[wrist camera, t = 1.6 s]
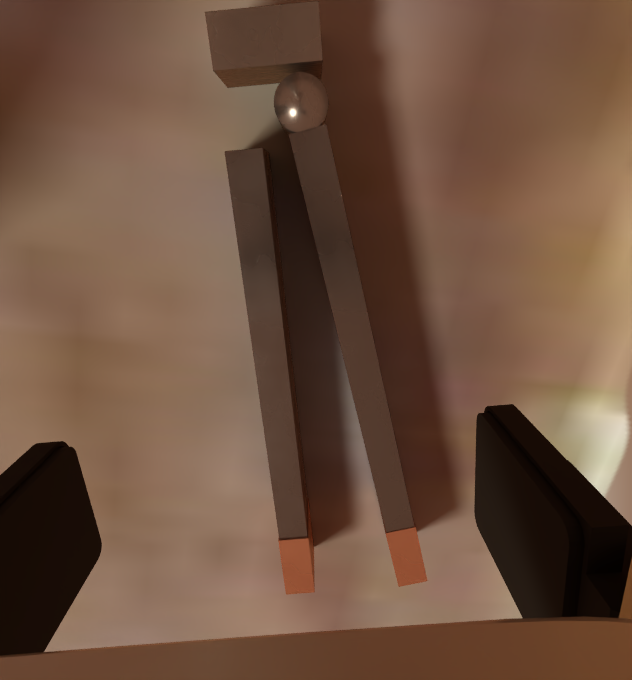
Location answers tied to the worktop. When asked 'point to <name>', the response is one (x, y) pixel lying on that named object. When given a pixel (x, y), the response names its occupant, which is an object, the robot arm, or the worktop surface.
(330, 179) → the tongs moving arm
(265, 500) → the worktop surface
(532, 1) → the worktop surface
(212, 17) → the arm
